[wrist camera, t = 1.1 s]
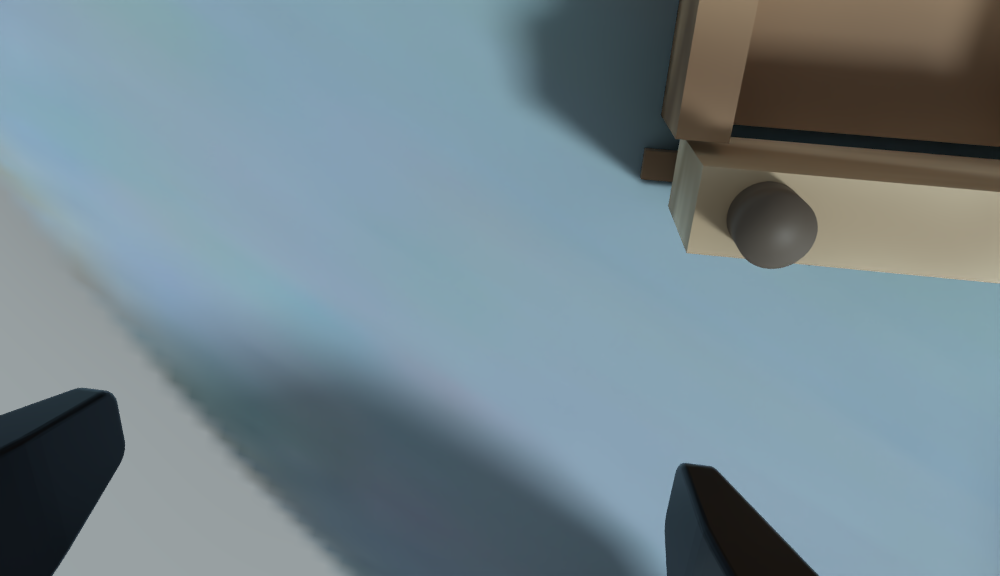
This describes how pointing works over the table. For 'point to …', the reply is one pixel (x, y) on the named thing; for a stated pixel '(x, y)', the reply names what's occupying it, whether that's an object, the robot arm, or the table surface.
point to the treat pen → (832, 71)
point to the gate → (839, 207)
